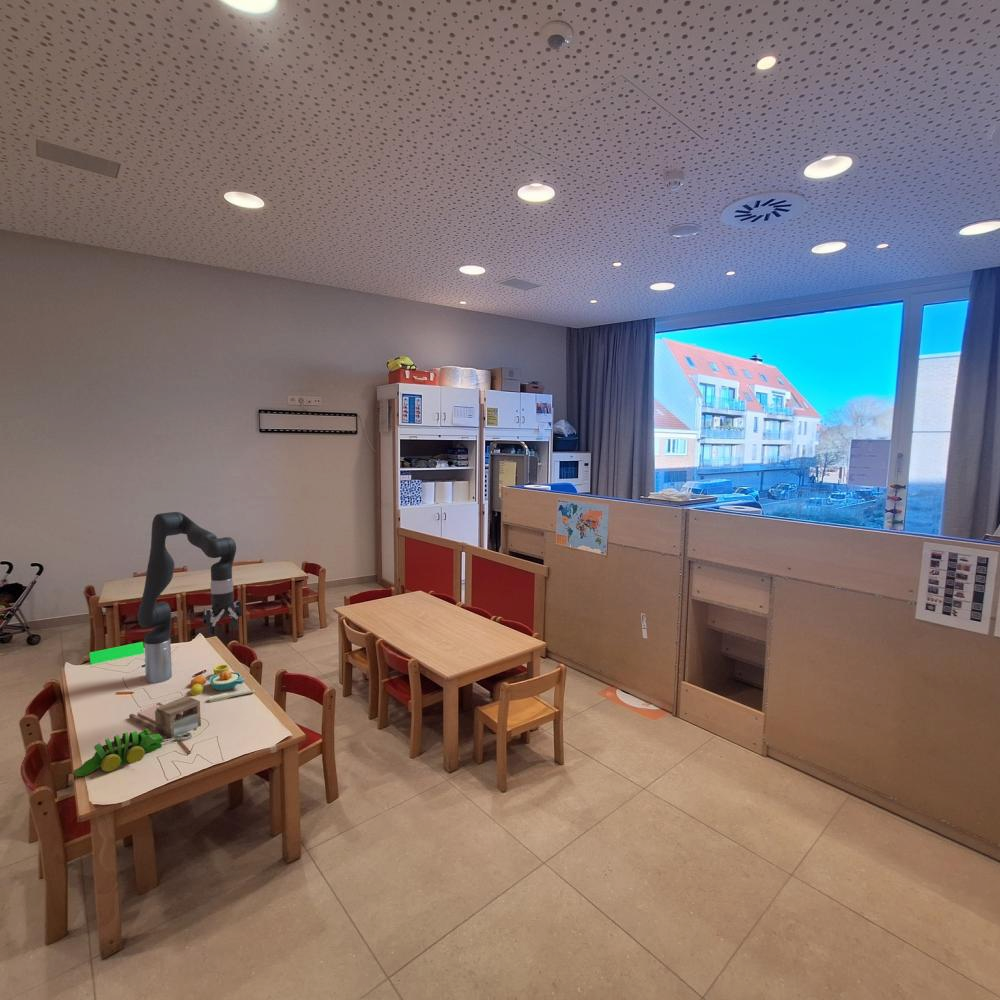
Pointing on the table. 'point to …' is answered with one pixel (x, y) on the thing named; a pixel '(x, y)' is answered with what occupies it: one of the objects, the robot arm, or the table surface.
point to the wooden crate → (165, 717)
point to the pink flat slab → (150, 714)
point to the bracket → (116, 653)
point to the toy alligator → (124, 750)
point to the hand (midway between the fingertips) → (223, 631)
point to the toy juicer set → (219, 683)
